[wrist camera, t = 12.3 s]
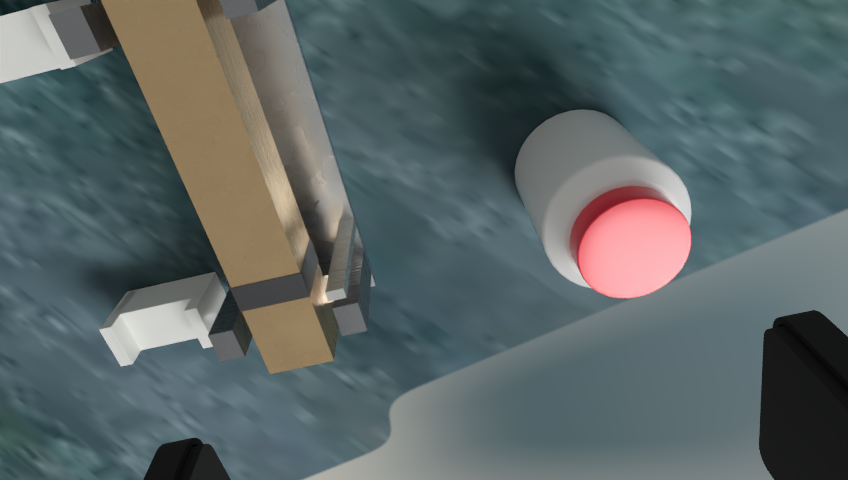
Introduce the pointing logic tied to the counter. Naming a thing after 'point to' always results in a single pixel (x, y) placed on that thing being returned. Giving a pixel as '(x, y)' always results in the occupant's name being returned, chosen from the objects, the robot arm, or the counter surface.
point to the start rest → (139, 309)
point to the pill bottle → (603, 204)
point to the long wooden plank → (231, 171)
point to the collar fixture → (296, 144)
